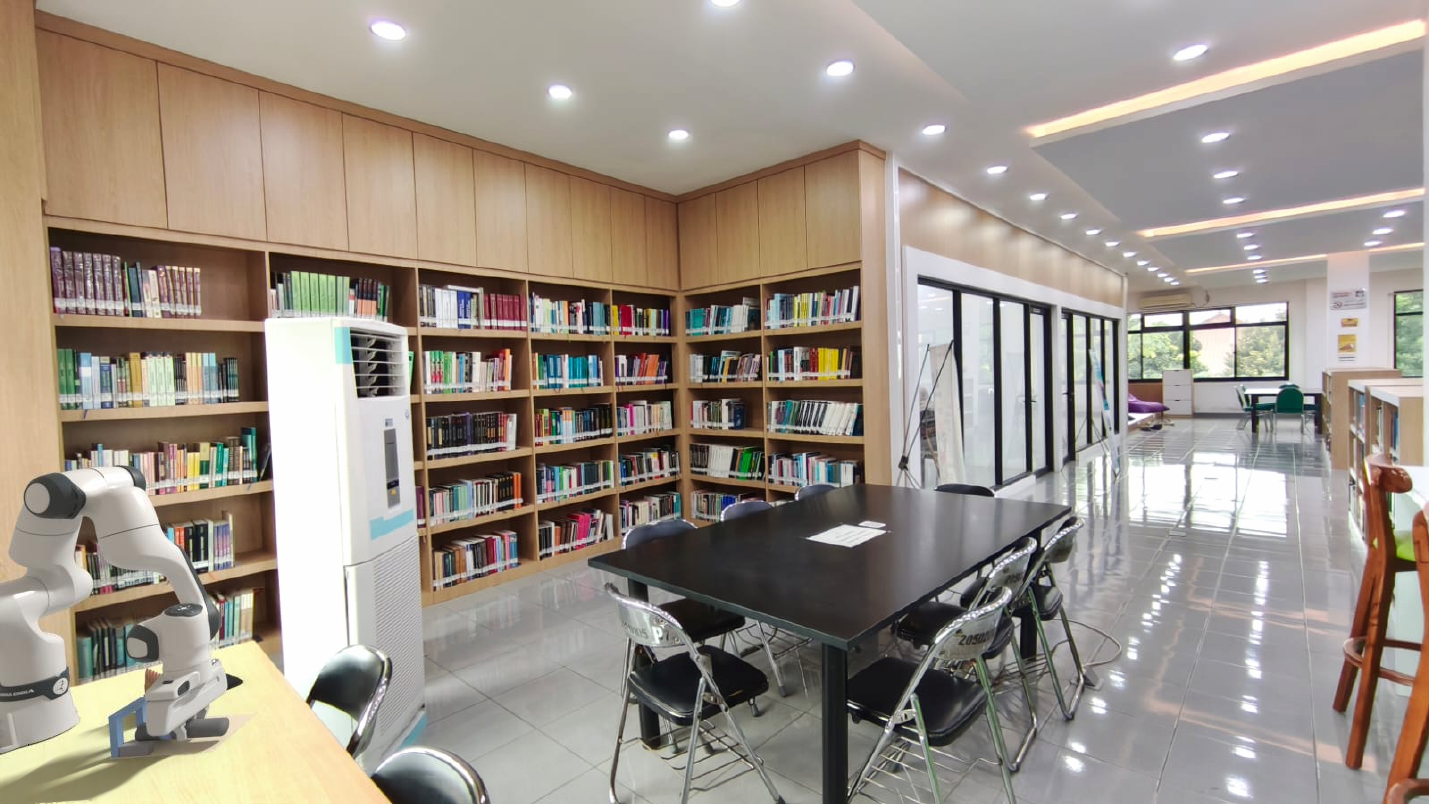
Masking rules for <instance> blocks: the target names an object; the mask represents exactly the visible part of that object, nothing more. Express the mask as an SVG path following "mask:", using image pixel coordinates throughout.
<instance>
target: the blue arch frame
mask: <svg viewBox="0 0 1429 804" xmlns="http://www.w3.org/2000/svg"><path fill="white" fill-rule="evenodd" d="M147 705H148V701H146V700H145V697H144V696H140V697H138V698H137V699H135V700H133V701H132V702H130V703H128V704H127V705H125V706H124V707H122V708H120V709H119V710H116V712H114V713H112V714H110V715H109V716H108V717H107V719H108V730H109V731H108V732H109V744H110V758H119V757H120V753H119V746H121V745H122V744H124V743H125V736H124V734H125V733H124V723H123V719H125V718H126V717H128V716H131V714H135V724H136V729H137V728H138V726H139V725H140V724H141V723H144V722H146V707H147Z"/></svg>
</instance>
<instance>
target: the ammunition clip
mask: <svg viewBox="0 0 1429 804" xmlns="http://www.w3.org/2000/svg"><path fill="white" fill-rule="evenodd" d="M144 672H145V673H144V684H143V686H144V694H143V696H144V695H145V692H146V691H147V690H148V689H149V688H150V687H151V686H152V685H153V684H154V682H155V681H156V680H157V679H158V677H159V676H160V675H161V674H162V673H160V672H159V673H158V671H155V670H152V669H151V668H149V667H146V669H145V671H144ZM149 702H150V701H148V703H149Z"/></svg>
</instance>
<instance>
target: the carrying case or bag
mask: <svg viewBox="0 0 1429 804" xmlns="http://www.w3.org/2000/svg"><path fill="white" fill-rule="evenodd" d="M225 674H226V679H227V690H226V691H229V690H232V689H234V688H236V687H238V686H241V685H242V684H244V680H243V679H241V677H238V676H236V675H232V674H229V673H226V672H225Z"/></svg>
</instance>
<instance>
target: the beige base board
mask: <svg viewBox="0 0 1429 804" xmlns="http://www.w3.org/2000/svg"><path fill="white" fill-rule="evenodd" d="M258 715H259V712H258V713H257V712H255V713H245V714H244V713H243V714H229V715H212V716H207V717H206V719H207V718H223V717H227V718H228V719H229V728H228V730H227V732H226V733H225V735H223V736H220V737H204V738H188V739H185V740H184V741H178V740H177V739H175V740H157V741H141V742H138V741H136V740H135V741H131V742H129V741H128V742H124V744H122V745H121V746H119V753H120V757H119V758H111V757H110V758H109V759H108V760H119V759H121V760H122V759H135V758H137V759H138V758H150V757H163V756H164V757H165V756H177V755H178V756H179V755H190V754H191V755H194V754H207V753H213V752H214V751H215V750H217V748H219V747H220V746H221V745H222V744H224V743H225V742H226V741H227V740H228V739H230V738H231V737H232V736H233V735H234V734H236V733H237V732H238V731H240V730H241V729H242V728H243V727H244V726H246V724H247V723H249V722H250V721H251V720H252V719H254V718H255V717H256V716H258ZM196 717H197V713H196V714H195V715H194V716H192V717H191V718H189V719H188V720H190V719H196Z"/></svg>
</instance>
